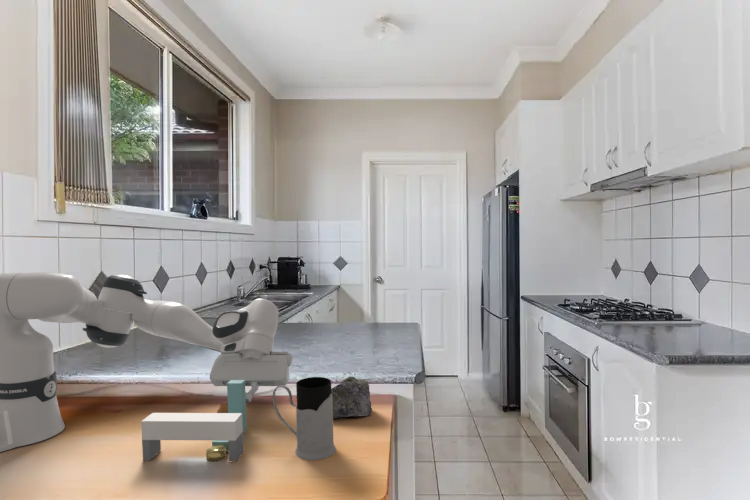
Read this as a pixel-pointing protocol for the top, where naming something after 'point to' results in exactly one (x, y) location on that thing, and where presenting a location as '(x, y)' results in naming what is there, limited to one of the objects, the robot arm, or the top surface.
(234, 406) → the block
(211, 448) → the token
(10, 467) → the top surface
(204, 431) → the white bench
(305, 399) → the glass holder
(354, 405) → the mineral rock
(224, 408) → the primitive tool
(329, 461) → the top surface
